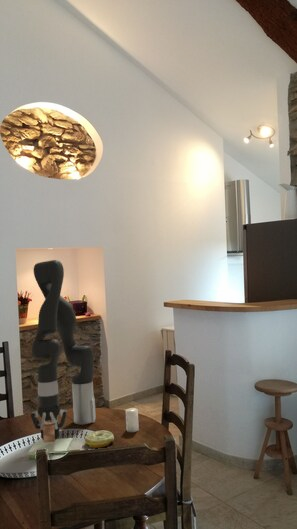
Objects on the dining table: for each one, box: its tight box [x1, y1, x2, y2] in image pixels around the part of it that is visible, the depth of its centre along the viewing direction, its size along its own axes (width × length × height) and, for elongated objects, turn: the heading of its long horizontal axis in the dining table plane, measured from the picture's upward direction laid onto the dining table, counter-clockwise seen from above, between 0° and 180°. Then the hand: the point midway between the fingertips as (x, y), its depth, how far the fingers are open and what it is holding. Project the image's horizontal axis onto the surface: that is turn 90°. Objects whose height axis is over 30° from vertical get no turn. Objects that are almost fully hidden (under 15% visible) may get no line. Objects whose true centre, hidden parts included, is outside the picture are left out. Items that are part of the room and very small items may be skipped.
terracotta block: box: [43, 421, 56, 442], centre depth 155 cm, size 4×4×6 cm
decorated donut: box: [84, 430, 115, 449], centre depth 157 cm, size 10×11×4 cm
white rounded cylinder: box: [125, 407, 140, 433], centre depth 169 cm, size 5×5×8 cm
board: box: [27, 437, 74, 456], centre depth 155 cm, size 14×12×1 cm
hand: (50, 438), depth 155 cm, fingers closed on terracotta block, 4 cm apart
